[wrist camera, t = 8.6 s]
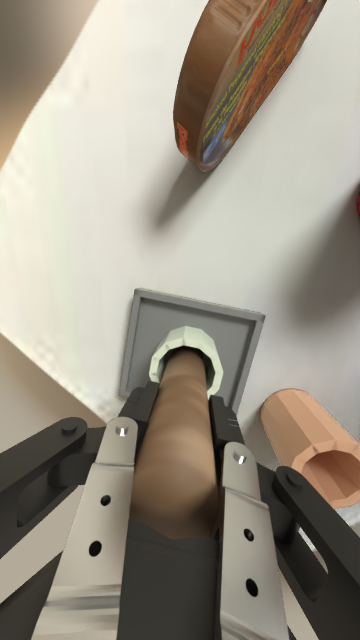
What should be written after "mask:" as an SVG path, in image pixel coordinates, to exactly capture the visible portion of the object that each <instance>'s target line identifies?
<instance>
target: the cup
mask: <svg viewBox="0 0 360 640" xmlns="http://www.w3.org/2000/svg"><path fill="white" fill-rule="evenodd" d="M260 417H261V422H262V424H263V427H264V430H265V432H266V435H267V437H268V439H269V441H270V443H271V446H272V448H273V450H274V452H275V454H276V457H277V459H278V461H279V463H280V465H281V466H288V467H291V468H293V469H295V470H296V471H298V472H299V473H301V474H302V475H303V476H304V477H305V478H306V479H307V480H308V481H309V482H310V484H311V485H312V486H313V487H314V488H315V489H316V490H317V491H318V492H319V493H320V495H321V496H322V497H323V498H324V499H325V500H326V501H327V502H328V503H329V504H330V506H331V507H332V508H333V509H338V508H344V507H350V506H352V505H354V504H355V503H357V502H358V501H360V444H359V443H358V442H357V441H356V440H355V439H354V438H353V437H352V436H351V435H350V434H349V433H348V432H347V431H346V430H345V429H344V428H343V427H342V426H341V425H340V424H339V423H338V422H337V421H336V420H335V419H334V418H333V417H332V416H331V415H330V414H329V413H328V412H327V411H326V410H325V409H324V408H323V407H322V406H321V405H320V404H319V403H318V402H317V401H316V400H315V399H314V398H313V397H312V396H310V395H309V394H308V393H306V392H304V391H302V390H298V389H284V390H280V391H278V392H275V393H274V394H272V395H271V396H269V397H268V398H267V399H266V401H265V402H264V404H263V406H262V408H261V413H260Z"/></svg>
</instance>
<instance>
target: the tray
mask: <svg viewBox="0 0 360 640" xmlns="http://www.w3.org/2000/svg"><path fill="white" fill-rule="evenodd" d="M264 320H265V315H263V314H261V313H259V312H254V311H249V310H244V309H240V308H235V307H230V306H225V305H220V304H215V303H211V302H206V301H201V300H196V299H191V298H186V297H181V296H177V295H172V294H167V293H162V292H157V291H152V290H148V289H143V288H137V289H135V291H134V298H133V305H132V311H131V318H130V325H129V331H128V338H127V345H126V351H125V358H124V364H123V371H122V378H121V384H120V391H119V396H124V397H129V396H130V394H131V392H132V390H134V389H136V388H137V387H142V388H145V387H146V385H147V383H148V381H151V378H150V376H149V371H150V366H151V360H152V356H153V354H154V353H155V351H156V349H157V347H158V345H159V344H160V342H161V341H162V340H163V339H164V337H165V336H166V335H167V334H168V333H169V332H170V331H171V330H174V329H177V328H181V327H184V326H189V327H193V328H198V329H202V330H203V331H204V332H205V333H206V334H207V335H209V336H210V337H211V338H212V339H213V340H214V343H215V346H216V349H217V353H218V356H219V359H220V362H221V366H222V369H223V376H222V380H221V384H220V388H219V390H218V391H217V392H216V393H215V394H214V395H216V396H220V397H223V400H224V404H225V406H226V407H230V408H231V409H232V410H233V411H234V413H235V414H236V415H237V412H238V408H239V405H240V402H241V398H242V395H243V391H244V388H245V384H246V381H247V378H248V374H249V371H250V367H251V364H252V361H253V357H254V354H255V350H256V347H257V343H258V340H259V337H260V333H261V330H262V326H263V323H264ZM171 351H172V349H169V350H168V351H167V352H166V353H165V354H164V358H165V361H166V363H168V360H169V357H170V354H171ZM201 351H202V350H201ZM202 353H203V358H204V367H205V369H206V368H207V367H208V366H209V363H210V359H211V358H210V357H209V356H207V355H206V354H205V353H204V352H203V351H202Z"/></svg>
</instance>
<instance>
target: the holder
mask: <svg viewBox="0 0 360 640" xmlns="http://www.w3.org/2000/svg"><path fill="white" fill-rule="evenodd" d="M183 345H185V346H190V347H195V348H199V349H201V350H202V351H203V352H204V353H205V354H206V355H207V356H209V357H210V358H211V359H210V363H209V366H208V367H207V368H206V369H205V376H206V385H207V395H208V400H209V397H210V395H214V394H215V393H216V392H217V391H218V390H219V388H220V384H221V380H222V376H223V369H222V366H221V362H220V359H219V356H218V353H217V349H216V346H215V343H214V340H213V339H212V338H211V337H210V336H209V335H207V334H206V333H205V332H204V331H203V330H202V329H198V328H193V327H189V326H184V327H181V328H177V329H174V330H171V331H170V332H169V333H168V334H167V335H166V336H165V337H164V339H163V340H162V341H161V342H160V344H159V345H158V347H157V349H156V351H155V353H154V354H153V356H152V360H151V366H150V371H149V376H150V378H151V381H153V382H158V383H160V384H161V381H162V378H163V375H164V372H165V369H166V366H167V363H166V361H165V358H164V354H165V353H166V352H167V351H168V350H169V349H173V348H176V347H179V346H183Z"/></svg>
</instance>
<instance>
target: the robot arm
mask: <svg viewBox="0 0 360 640" xmlns="http://www.w3.org/2000/svg"><path fill="white" fill-rule="evenodd" d="M159 387H160V383H158V382H153V381H148V383H147V385H146V387H145V388H142V387H137V388H136V389H134V390H132V392H131V394H130V396H129V397H128V399H127V402H126V403H125V405H124V406H123V408H122V410H121V412H120V413H119V415H118V417H117V418H114V419H112V420H111V421H110V422H109V423H108V424H107V426H105V427H101V428H87V423H86V422H85V421H84V420H83V419H81V418H77V417H70V418H65V419H62V420H60V421H58V422H56V423H54V424H53V425H51V426H49V427H47V428H45V429H44V430H42V431H40V432H38V433H37V434H35V435H33V436H31V437H29V438H27V439H26V440H24V441H22V442H20V443H19V444H17V445H15V446H13V447H11V448H9V449H8V450H6V451H4V452H2V453H0V559H1V558H2V557H3V556H4V555H5V554H6V553H7V552H8V551H9V550H10V549H12V547H14V546H15V545H16V544H17V543H18V542H19V541H20V540H21V539H22V538H23V537H24V536H26V535H27V534H28V533H29V532H30V531H31V530H32V529H33V528H34V527H35V526H36V525H37V524H38V523H39V522H41V521H42V520H43V519H44V518H45V517H46V516H47V515H48V514H49V513H50V512H51V511H52V510H54V509H55V508H56V507H57V506H58V505H59V504H60V503H61V502H62V501H63V500H64V499H65V498H66V497H68V496H69V495H70V494H71V493H72V492H73V491H74V490H75V489H76V488H77V487H78V485H85V487H84V490H83V493H82V496H81V499H80V502H79V505H78V508H77V511H76V514H75V517H74V520H73V523H72V526H71V529H70V532H69V535H68V538H67V541H66V544H65V547H64V550H63V551H62V552H61V553H59V554H58V555H57V556H56V557H55V558H53V559H52V560H51V561H50V562H49V563H48V564H46V565H45V566H44V567H43V568H42V569H41V570H39V571H38V572H37V573H36V574H35V575H34V576H32V577H31V578H30V579H29V580H28V581H26V582H25V583H24V584H23V585H22V586H21V587H19V588H18V589H17V590H16V591H15V592H13V593H12V594H11V595H10V596H9V597H8V598H7V599H5V600H4V601H3V602H2V603H1V604H0V640H296V638H295V637H294V635H293V633H292V632H291V630H290V629H289V627H288V625H287V621H286V614H285V608H284V602H283V595H282V589H281V583H280V576H279V570H278V567H279V568H280V570H281V572H282V574H283V576H284V577H285V579H286V581H287V583H288V585H289V586H290V588H291V590H292V592H293V593H294V595H295V597H296V599H297V601H298V603H299V605H300V606H301V608H302V610H303V612H304V614H305V615H306V617H307V619H308V621H309V623H310V624H311V626H312V628H313V630H314V631H315V633H316V635H317V637H318V639H319V640H360V538H359V537H358V535H357V534H356V533H355V532H354V531H353V530H352V529H351V528H350V527H349V525H348V524H347V523H346V522H345V521H344V520H343V519H342V518H341V517H340V516H339V514H338V513H337V512H336V511H335V510H334V509H333V508H332V507H331V506H330V504H329V503H328V502H327V501H326V500H325V499H324V498H323V497H322V496H321V495H320V493H319V492H318V491H317V490H316V489H315V488H314V487H313V486H312V485H311V484H310V482H309V481H308V480H307V479H306V478H305V477H304V476H303V475H302V474H301V473H299V472H298V471H296V470H295V469H293V468H291V467H288V466H279V467H278V468H277V469H276V472H274V471H272V470H270V469H268V468H266V467H264V466H262V465H260V464H259V463H257V462H256V458H255V456H254V454H253V453H252V451H251V450H250V449H249V448H247V447H246V446H245V444H244V440H243V437H242V434H241V431H240V427H239V424H238V422H237V417H236V414H235V413H234V411H233V410H232V409H231V408H230V407H226V406H225V404H224V400H223V397H220V396H216V395H210V397H209V400H208V404H209V413H210V422H211V431H212V440H213V450H214V459H215V468H216V477H217V486H218V496H219V501H218V506H217V511H216V514H215V517H214V521H213V524H212V527H211V530H210V533H209V534H208V536H207V537H206V538H205V537H194V538H183V539H170V538H168V537H166V536H164V535H163V534H161V533H159V532H158V531H156V530H154V529H153V528H151V527H149V526H148V525H146V524H144V523H143V522H139V521H135V520H131V519H129V510H130V501H131V492H132V483H133V474H134V463H135V460H136V457H137V454H138V451H139V448H140V445H141V442H142V439H143V437H144V435H145V432H146V429H147V426H148V422H149V419H150V416H151V413H152V410H153V407H154V404H155V401H156V398H157V395H158V391H159ZM300 527H301V528H302V529H303V531H304V532H305V534H306V535H307V536H308V538H309V539H310V541H311V542H312V543H313V545H314V546H315V548H316V549H317V550H318V552H319V553H320V554H321V556H322V558H323V559H324V561H325V563H326V566H327V569H328V574H327V572H326V571H325V569H324V568H323V566H322V565H321V564H320V562H319V561H318V559H317V558H316V556H315V555H314V554H313V552H312V551H311V549H310V548H309V546H308V545H307V544H306V542H305V541H304V539H303V538H302V536H301V535H300V534H299V532H298V531H299V528H300Z"/></svg>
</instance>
